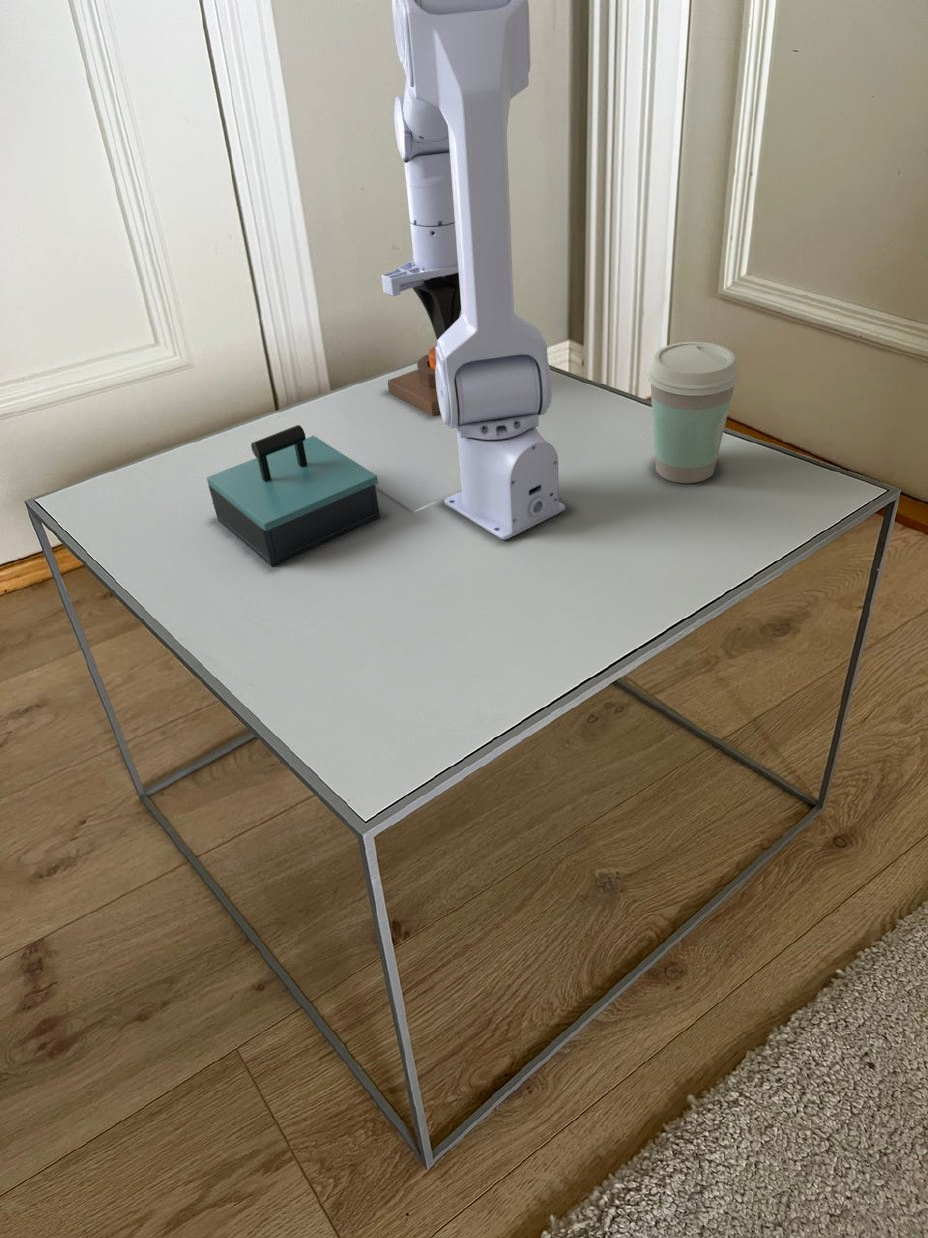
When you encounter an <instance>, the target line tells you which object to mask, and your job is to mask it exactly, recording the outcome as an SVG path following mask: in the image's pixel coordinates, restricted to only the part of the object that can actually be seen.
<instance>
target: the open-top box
mask: <svg viewBox="0 0 928 1238" xmlns="http://www.w3.org/2000/svg"><path fill="white" fill-rule="evenodd" d="M208 490H209V493H210V497H211V501H212V504H213V507H214V512H215V515H216V518H217V521H218V522H219V523H220V524H221V525H223V526H224V527H225V528H226V529H227V530H228V531H230V532H231V533H232V534H233V535H234V536H235V537H236V538H238V539H239V540H240V541H241V542H242V543H244V544H245V545H246V546H247V547H248V548H249V549H250V550H252V552H254V553H255V554H256V555H258V556H259V557H260V558H261V559H262V560H263V561H264V562H265V563H267V564H268V565H269V566H270V567H274V566H277V565H279V564H281V563H283V562H285V561H288V560H291V559H292V558H294V557H296V556H298V555H301V554H303V553H305V552H307V551H310V550H312V549H315V548H316V547H318V546H321V545H323V544H325V543H328V542H329V541H332V540H334V539H336V538H338V537H341V536H342V535H345V534H347V533H349V532H352V531H354V530H356V529H358V528H360V527H363V526H364V525H367V524H368V523H371V522H373V521H376V520H378V519H380V518H381V514H380V508H379V507H380V506H379V501H378V500H379V499H378V493H377V486H376V484H374V485H372V486H370V487H367V488H365V489H363V490H360V491H358V492H356V493H354V494H351V495H349V496H347V497H344V498H342V499H340V500H337V501H335V502H333V503H330V504H328V505H326V506H324V507H321V508H319V509H317V510H314V511H312V512H310V513H307V514H305V515H303V516H300V517H298V518H296V519H294V520H291V521H289V522H287V523H284V524H282V525H280V526H277V527H275V528H273V529H270V530H268V531H265V530H264V529H263V528H261V527H260V526H259V525H258V524H256V523H255V522H254V521H253V520H252V519H250V518H249V517H248V516H247V515H245V514H244V513H243V512H242V511H241V510H239V509H238V508H237V507H236V506H234V505H233V504H232V503H231V502H229V501H228V500H227V499H226V498H225V497H223V496H222V495H221V494H220V493H218V492H217V491H216V490H215V489H214V488H212V487H211V486H210V485H209V484H208Z"/></svg>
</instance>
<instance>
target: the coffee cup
mask: <svg viewBox="0 0 928 1238" xmlns="http://www.w3.org/2000/svg"><path fill="white" fill-rule="evenodd" d="M739 372H740V369H739V367H738V365H737V360H736V356H735V354H734V352H733V351H731V350H730V349H728V347H725V346H722V345H719V344H717V343H711V342H706V341H705V342H704V341H682V342H677V343H672V344H668V345H666V346H664V347H662V348H660V349H658V350H657V351H656V352H655V353H654V357H653V360H652V362H651V363H650V365H649V366H648V372H647V375H646V377H647V380H648V382H649V383H650V393H651V394H650V398H651V414H652V415H651V416H652V429H653V430H652V431H653V442H654V443H653V445H654V459H655V461H654V462H655V470H656V473H657V474H658V475H659V476H660V477H661V478H663V479H665V480H666V481H669V482H673V483H678V484H694V483H699V482H703V481H705V480H707V479H709V478H710V477H712V476H713V475H714V473H715V469H716V465H717V461H718V457H719V453H720V448H721V444H722V440H723V436H724V432H725V428H726V424H727V418H728V415H729V411H730V406H731V402H732V399H733V394H734V389H735V386H736V385H737V384H738V382H739V380H740V374H739Z"/></svg>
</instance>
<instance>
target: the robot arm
mask: <svg viewBox="0 0 928 1238" xmlns="http://www.w3.org/2000/svg"><path fill="white" fill-rule="evenodd" d="M391 9H392V10H391V11H392V19H393V31H394V38H395V44H396V50H397V55H398V59H399V61H400V63H401V64H402V68H403V69H404V74H405V87H404V93H403V95H399V96H395V99H394V111H393V121H394V131H395V139H396V144H397V149H398V151H399V155H400V157H401V160H402V161H403V164H404V175H405V186H406V195H407V197H406V198H407V206H408V217H409V227H410V235H411V246H412V260H410V261H408V262H406V263H404V264H402V265H401V266H399V267H397V268H395V269H394V270H391V271H388V272H386V273H384V274H381V282H382V283H381V284H382V291H383V293H384V294H387V295H388V296H392V297H396V296H399V295H401V292H403V291H407V290H409V289H410V290H411V289H412V290H413V292H414V293H415V294H416V295H417V297H418V299H419V300H420V303H422V305H423V307H424V309H425V312H426V313H427V316H428V318H429V321H430V323H431V326H432V328H433V332H434V336H435V338H436V340H437V341H436V343H437V344H436V348H435V350H436V367H435V378H436V389H437V396H438V402H439V408H440V412H441V413H440V416H441V419H442V421H443V423H444V424H445V425H447V427H449V429H456V439H457V452H458V453H457V454H458V463H459V464H458V465H459V475H460V476H459V477H460V489H461V491H458V492H456V493H454V494H452V495H450V496H447V497H445V498H444V502H443V503H444V505H445V506H447V507H448V508H450V509H452V510H454V511H455V512H456V513H458V514H459V515H462V516H463V517H465V518H467V519H468V520H470V521H471V522H473V523H474V524H476V525H478V526H480V528H483V529H484V530H485V531H487V532H489V533H491V534H492V535H494V536H495V537H497V538H498V539H500V540H503V541H504V540H505V541H506V540H509V539H511V538H513V537H514V536H517V535H518V534H521V533H523V532H525V531H526V530H528V529H530V528H532V527H534V526H537V525H539V524H540V523H542V522H544V521H546V520H548V519H550V518H552V517H555V516H556V515H559V513H560V514H561V513H562V512H564V511H565V510H566V504H564V503H562V502H560V500H559V456H558V453H557V450H556V449H555V447H554V446H553V445H552V444H551V443H550V442H548V441H547V440H546V439H545V438H544V437H543V436H542V434H540V432H539V430H538V429H537V427H539V426H540V424H539V422H540V421H539V420H540V419H539V416H544V415H546V414H547V412H548V410H549V408H550V406H551V404H552V399H553V382H552V374H551V369H550V368H551V367H550V364H549V357H548V344H547V342H546V340H545V337H544V336H543V334H542V331H540V329H539V328H538V327H537V326H536V325H534V324H533V323H532V322H530V321H528V320H527V319H525V318H523V317H522V316H520V315H519V314H517V313H515V307H514V306H515V305H514V303H515V302H514V282H513V281H514V280H513V277H514V276H513V255H512V254H513V253H512V229H511V228H512V226H511V203H510V180H509V179H510V178H509V177H510V176H509V156H508V155H509V154H508V125H509V116H510V115H509V114H510V106H511V100H512V99H513V98H514V97H516V96H517V95H519V94H520V93H521V92H522V91H524V90H525V89H527V88H528V87H529V82H530V80H529V73H530V71H531V36H530V35H531V33H530V32H531V31H530V30H531V29H530V5H529V0H391Z"/></svg>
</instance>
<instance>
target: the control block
mask: <svg viewBox="0 0 928 1238" xmlns="http://www.w3.org/2000/svg"><path fill="white" fill-rule="evenodd" d="M416 368H417V369H415V370H412V371H409V372H406V373H404V374H401V375H399V376H396V377H393V378H391V379H388V380H387V387H388V394H390V395H392V396H393V397H395V398H397V399H399V400H401V401H403V402H405V403H407V404H408V405H411V406H412V407H414V408H416V409H419V410H421V412H424V413H426V414H428V415H429V416H432V417H434V416H437V415H440V414H441V412H440V408H439V402H438V396H437V389H436V378H435V370H434V369H432V368H430V363H429V353H428V354H426V355H425V354H424V355H423V356H422V357H421V358H420V359H419V360H418V361H417V362H416Z"/></svg>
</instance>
